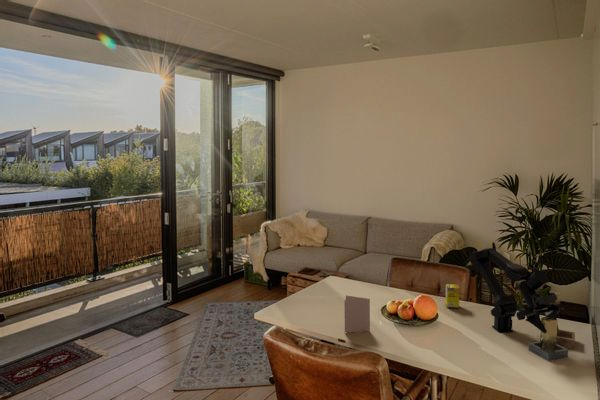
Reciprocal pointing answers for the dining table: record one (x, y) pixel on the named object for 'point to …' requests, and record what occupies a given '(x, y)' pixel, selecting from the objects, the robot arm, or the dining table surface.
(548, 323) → the tan cylinder
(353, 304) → the greeting card
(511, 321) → the robot arm
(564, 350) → the tray
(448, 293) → the supplement box
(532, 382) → the dining table surface
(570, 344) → the walnut socket
